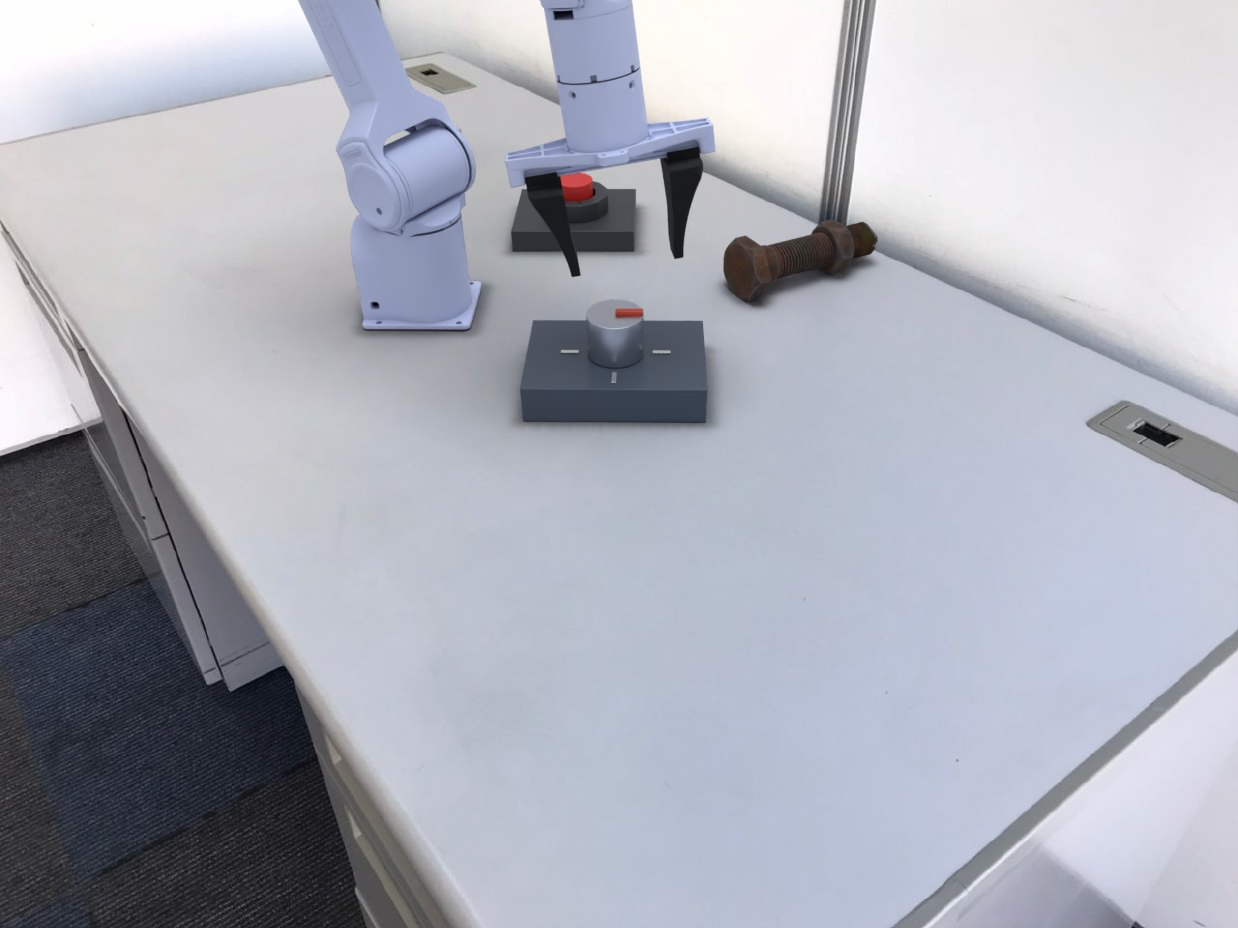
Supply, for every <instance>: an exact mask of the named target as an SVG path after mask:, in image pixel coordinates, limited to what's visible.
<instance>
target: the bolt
mask: <svg viewBox="0 0 1238 928" xmlns="http://www.w3.org/2000/svg"><path fill="white" fill-rule="evenodd" d="M878 240H879V239H878V235H877V234H876V233H875V231H874V230H873V229H872V228H871V226H870V225H869V224H868V223H866V222H865V221H859V222H857V223H852V224H848V225H844V224H843V223H842V222H839V221H837V220H834V219H827V220H824V221H823V220H822V221H820V222H819V223H818V225H816V226H815V228H813V230H812V232H811V233H810V234H807V235H804V236H799V237H795V238H790V239H787V240H783V241H778V242H776V243H771V244H763V245H761V244H760V243H758V242H756V241H755V240H753V239H752V238H750V236H747V235H741V236H738V237H735V238H733V240H732V241H731V242H730V243H729V244H728V245H727V246H726V248H725V250H724V254H723V264H722V265H723V267H722V269H723V271H722V272H723V275H724V279H725V281H726V283H727V285H728V287H729V289H730V291H731V293H733V295H734V296H735V297H737V298H738V299H740V300H743V301H745V302H748V303H751V302H755V301H758V300H760V299H761V297H762V296H763V295H764V293H765V292H766V290H767V288H768V287H769V285H770V284H771V283H773V282H774V281H776V280H780V279H784V278H788V277H791V276H794V275H799V274H803V273H807V272H810V271H814V270H817V269H818V270H820V271H821V272H823V273H825V274H829V275H832V276H833V275H836V274H839V273H842V272H843V271H845V269H847V267H848V266H849V265H851V263H852V261H853V260H854V259H859V258H862V257H863V258H864V257H866V256H870V255H872V254H873V253H874V251H875V250H876V246H877V245H876V244H877V243H878V242H879V241H878Z"/></svg>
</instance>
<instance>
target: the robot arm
mask: <svg viewBox="0 0 1238 928" xmlns="http://www.w3.org/2000/svg"><path fill="white" fill-rule="evenodd" d="M297 2H298V4H299V6H300V8H301V10H302V12H303V15H304V16H305V18H306V21H307V23H308V25H309V28H310V29H311V31H312V34H313V36H314V38H315V40H316V43H317V44H318V47H319V49H320V51H321V54H322V55H323V57H324V60H325V62H326V64H327V66H328V68H329V71H330V73H331V74H332V77H333V79H334V81H335V83H336V85H337V88H338V90H339V92H340V95H341V97H342V98H343V101H344V102H345V105H346V107H347V109H348V111H349V116H348V118H347V120H346V123H345V125H344V127H343V129H342V132H341V134H340V136H339V139H338V141H337V143H336V146H335V152H336V154H337V156H338V158H339V160H340V163H341V165H342V168H343V170H344V175H345V176H344V177H345V181H346V188H347V193H348V196H349V199H350V201H351V203H352V205H353V207H354V208H355V210H356V211H357V213H358V215H356V216H355V218H354V219H353V222H352V226H351V230H350V256H351V263H352V268H353V272H354V273H353V274H354V276H355V278H354V279H355V283H356V288H357V293H358V298H359V302H360V303H359V304H360V308H361V313H362V317H363V321H362V323H361V326H362V328H363V329H364V330H469V329H470V328H471V327H472V323H473V320H474V317H475V312H476V309H477V305H478V301H479V298H480V296H481V295H480V294H481V291H482V288H483V287H482V286H483V285H482V282H481V281H479V280H470V272H469V271H470V270H469V264H468V256H467V255H468V254H467V247H466V246H467V245H466V239H465V230H464V224H463V223H464V221H463V215H462V210H463V208H465V207H466V206H467V201H466V193H467V192H468V191H469V190H470V189H471V188H472V187H473V185H474V184H475V181H476V176H477V164H476V163H477V162H476V158H475V156H474V155H475V154H474V153H473V150H472V148H471V146H470V144H469V141H468V140H467V139H466V138H465V136H464V134H461V133H462V132H461V133H460V131H459V130H458V129H459V128H458V129H457V128H456V127H455V126H454V124H453V123H452V122H453V121H452V119H451V117H450V115H449V113H448V111H447V109H446V106H445V104H444V103H443V102H442V101H440V100H438V99H437V98H434V97H433V96H431V95H429V94H427V93H424V92H422V91H420V90H418V89H417V88H415V87H413V84H412V83H411V79H410V78H409V75H408V73H407V70H406V68H405V67H404V64H403V62H402V60H401V56H400V54H399V52H398V50H397V48H396V46H395V43H394V40H393V39H392V36H391V34H390V32H389V29H388V27H387V24H386V23H385V20H384V18H383V16H382V14H381V11H380V8H379V7H378V4H377V2H376V0H297ZM539 2H540V5H541V7H542V8H543V13H544V18H545V23H546V24H545V25H546V29H547V36H548V40H549V48H550V53H551V59H552V64H553V70H554V76H555V83H556V88H557V95H558V100H559V107H560V111H561V118H562V121H563V122H562V123H563V128H564V135H565V137H562V138H559V139H555V140H551V141H549V142H544V143H542V144H541V143H540V144H538V145H534V146H531V147H526V148H524V149H523V148H522V149H518V150H515V151H509V152H505V153H504V163H505V168H506V173H507V177H508V183H509V187H510V188H511V189H513V188H519V187H524V186H525V187H526V189H527V192H528V198H529V200H530V202H531V204H532V205H533V207H534V208H535V210H536V211H537V212H538V213H539V215H540V216H541V217H542V219H543V220H544V221H545V223H546V224H547V226H548V227H549V229H550V230H551V232H552V233H553V235H554V237H555V238H556V240H557V242H558V244H559V246H560V248H561V250H562V254H563V256H564V258H565V261H566V263H567V266H568V269H569V272H570V276H571V278H576V277H581V276H582V274H581V269H580V262H579V258H578V252H577V251H576V248H575V244H574V240H573V237H572V233H571V229H570V226H569V221H568V216H567V211H566V205H565V199H564V194H563V188H562V183H561V177H560V176H564V175H570V174H576V173H586V172H592V171H597V170H602V169H608V168H609V169H610V168H614V167H620V166H626V165H631V164H638V163H643V162H648V161H649V162H650V161H654V160H655V161H656V160H660V167H661V172H662V174H661V175H662V181H663V186H664V192H665V193H664V194H665V201H666V211H667V212H666V213H667V233H668V242H669V248H670V251H671V255H672V256H673V259H674V260H679V259H683V258H684V255H685V253H684V251H685V250H684V249H685V247H684V246H685V237H686V229H687V225H688V219H689V216H690V215H689V214H690V211H691V208H692V205H693V201H694V197H695V194H696V192H697V189H698V187H699V184H700V182H701V180H702V176H703V173H704V161H703V160H702V158H701V155H705V154H711V153H716V141H715V131H714V124H713V122H712V121H711V120H710V118H709V117H701V118H695V119H687V120H675V121H673V120H672V121H660V122H648V116H647V108H646V101H645V100H646V99H645V93H644V85H643V84H644V83H643V78H642V70H641V61H640V53H639V44H638V36H637V29H636V28H637V27H636V19H635V12H634V5H633V0H539ZM403 131H404V132H407V133H408V134H406V135H404V136H402V137H400V138H397V139H395V140H393V141H390V142H389V143H386V141H387V140H388V139H389V138H390V137H392V136H394V135H396V134H399V133H400V132H401V133H402V132H403ZM385 143H386V144H385Z"/></svg>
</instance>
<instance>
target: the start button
mask: <svg viewBox="0 0 1238 928" xmlns="http://www.w3.org/2000/svg"><path fill="white" fill-rule="evenodd" d="M560 177H561V183H562V188H563V194H564V199H565V201H582V200H587V199H590V198H591V197H593V181H594V180H593V177H592V175H590V174H587V173H586V172H581V173H576V174H570V175H564V176H560Z"/></svg>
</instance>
